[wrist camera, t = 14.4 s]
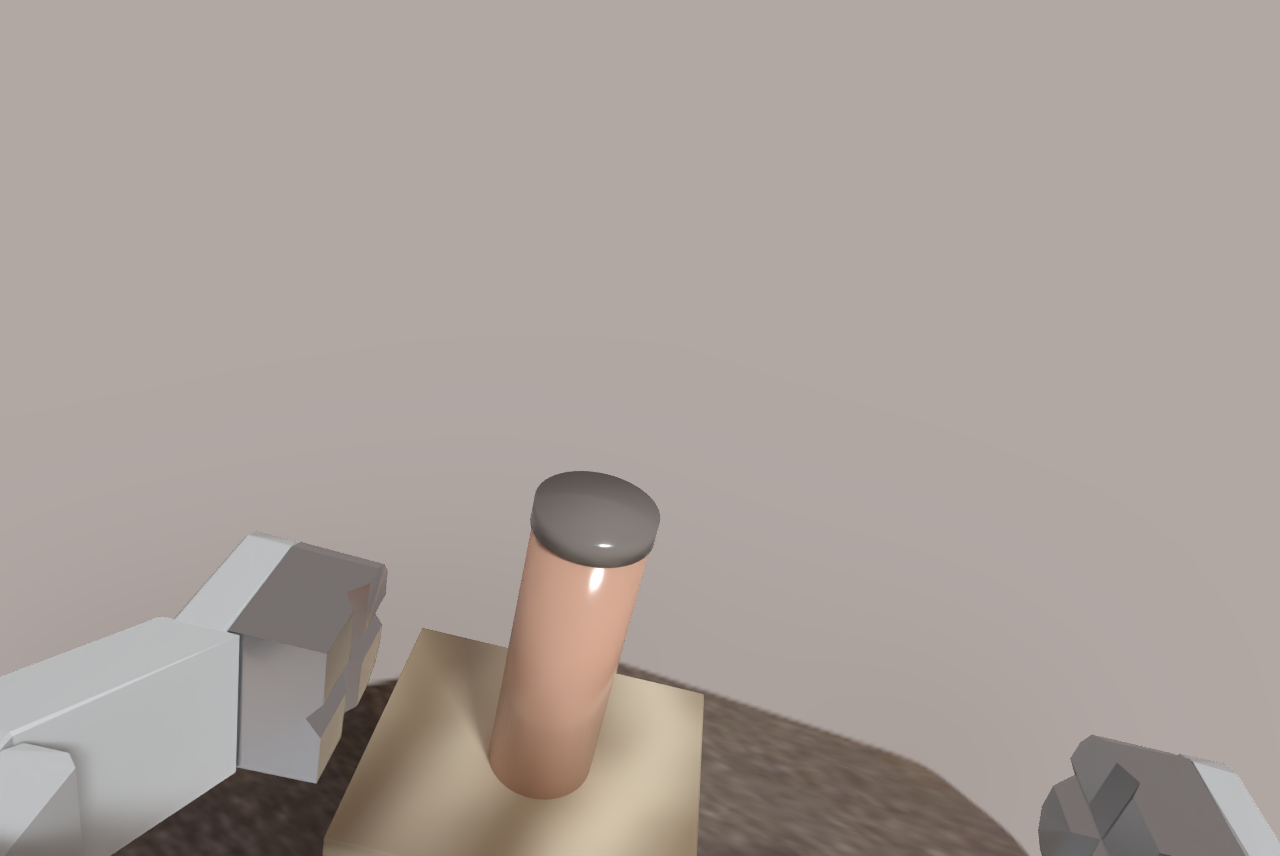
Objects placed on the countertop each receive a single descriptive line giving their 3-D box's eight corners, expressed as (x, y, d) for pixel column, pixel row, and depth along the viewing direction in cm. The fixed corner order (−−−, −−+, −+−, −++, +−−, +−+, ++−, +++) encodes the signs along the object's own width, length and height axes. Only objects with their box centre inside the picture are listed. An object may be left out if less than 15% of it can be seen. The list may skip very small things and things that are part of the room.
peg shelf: (310, 995, 39) (324, 837, 34) (402, 771, 49) (422, 628, 45) (635, 1069, 39) (693, 923, 34) (657, 830, 49) (703, 694, 45)
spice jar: (474, 788, 37) (523, 527, 31) (499, 705, 41) (546, 460, 35) (585, 812, 37) (655, 557, 31) (599, 727, 41) (663, 487, 35)
